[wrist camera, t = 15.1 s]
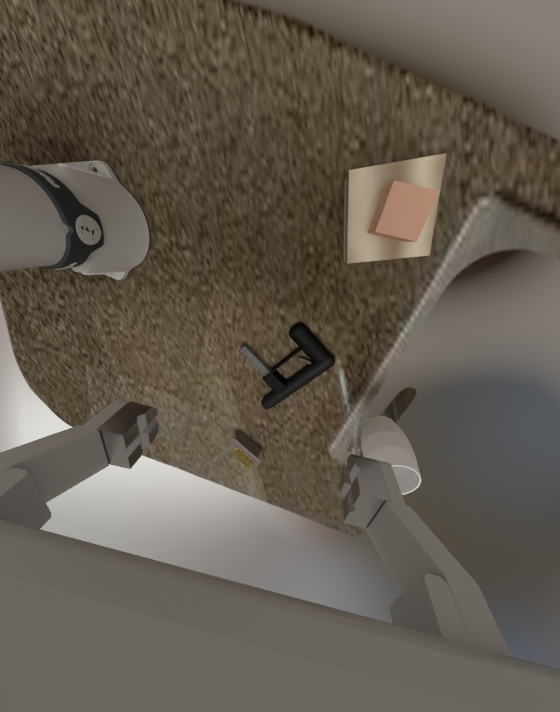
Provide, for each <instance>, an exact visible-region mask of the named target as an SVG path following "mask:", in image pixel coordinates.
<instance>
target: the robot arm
mask: <svg viewBox="0 0 560 712" xmlns="http://www.w3.org/2000/svg"><path fill="white" fill-rule="evenodd" d="M96 169H97V172H96ZM148 248H149V229H148V225H147V221H146V218H145V216H144V213H143V211H142V209H141V207H140V206H139V204H138V203H137V201H136V200H135V198H134V197H133V196H132V195H131V194H130V193H129V192H128V191H127V190H126V189H125V188H124V187H123V186H122V185H121V184H120V183H119V181H118V180H117V178H116V176H115V174H114V172H113V171H112V169H111V168H110V166H109V165H108V164H107V163H106V162H103V161H98V160H96V161H83V162H70V163H58V164H45V165H33V166H26V165H21V164H15V163H14V164H13V163H5V162H2V163H0V272H4V271H10V270H17V269H25V268H34V267H39V268H42V269H67V268H72V270H73V271H75V272H82V274H84V275H96V274H104V275H107V276H109V277H111V278H114V279H116V280H124V279H125V278H126V277H127V275H128V273H129V271H130V270H131V269H132V268H134V267H136V266H137V265H139V264H140V263H141V262H142V261H143V260H144V258H145V257H146V255H147V252H148ZM156 416H157V410H156V408H154V407H150V406H146V405H143V404H139V403H135V402H131V401H127V400H123V399H118V400H115V401H114V402H112V403H111V404H110V405H109V406H107V407H106V408H105V409H103V410H102V411H101V412H100V413H98V414H97V415H96V416H95V417H93V418H92V419H91V420H89V421H88V422H87V423H86V424H84V425H83V426H75V427H73V428H70V429H67V430H64V431H61V432H59V433H56V434H53V435H50V436H47V437H44V438H41V439H38V440H36V441H33V442H30V443H27V444H24V445H21V446H19V447H16V448H13V449H10V450H7V451H4V452H1V453H0V712H560V669H558V668H554V667H550V666H547V665H543V664H539V663H535V662H532V661H528V660H524V659H520V658H517V657H513V656H511V654H510V652H509V650H508V648H507V646H506V643H505V641H504V639H503V637H502V635H501V633H500V631H499V628H498V626H497V624H496V622H495V620H494V618H493V616H492V614H491V612H490V610H489V607H488V605H487V603H486V601H485V599H484V597H483V595H482V593H481V591H480V588H479V586H478V585H477V583H476V582H475V581H474V580H473V579H472V578H471V577H470V575H469V574H468V573H467V572H466V571H465V570H464V569H463V568H462V566H461V565H460V564H459V563H458V562H457V561H456V559H455V558H454V557H453V556H452V555H451V554H450V552H449V551H448V550H447V549H446V548H445V547H444V546H443V544H442V543H441V542H440V541H439V540H438V539H437V537H436V536H435V535H434V534H433V533H432V532H431V531H430V529H429V528H428V527H427V526H426V525H425V524H424V523H423V521H422V520H421V519H420V518H419V517H418V516H417V515H416V513H415V512H414V511H413V510H412V509H411V508H410V507H408V506H406V505H405V502H404V500H403V497H402V494H401V491H400V488H399V485H398V482H397V479H396V477H395V474H394V471H393V468H392V465H391V464H390V463H387V462H383V461H379V460H375V459H371V458H366V457H362V456H357V455H353V454H351V455H350V456H349V457H348V459H347V464H348V465H347V466H345V467H343V470H342V472H341V477H340V492H341V494H342V495H343V496H344V500H343V502H342V512H343V521H344V523H347V524H351V525H354V526H358V527H362V528H365V529H366V531H367V533H368V534H369V536H370V538H371V540H372V541H373V543H374V545H375V547H376V549H377V550H378V552H379V554H380V556H381V558H382V559H383V561H384V563H385V565H386V566H387V568H388V570H389V572H390V573H391V575H392V577H393V579H394V581H395V582H396V584H397V586H398V588H399V589H400V591H401V593H402V595H401V596H400V597H399V598H398V599H396V600H395V601H394V602H393V603H392V604H391V606H390V613H391V618H392V623H393V624H391V623H387V622H383V621H379V620H376V619H372V618H368V617H364V616H361V615H357V614H353V613H350V612H346V611H342V610H338V609H335V608H331V607H327V606H323V605H320V604H316V603H312V602H308V601H305V600H301V599H297V598H294V597H290V596H286V595H283V594H279V593H275V592H271V591H267V590H264V589H260V588H257V587H253V586H249V585H245V584H242V583H237V582H234V581H230V580H227V579H223V578H219V577H215V576H212V575H208V574H204V573H201V572H197V571H193V570H190V569H185V568H182V567H178V566H175V565H171V564H167V563H163V562H159V561H156V560H152V559H148V558H145V557H141V556H137V555H133V554H130V553H126V552H122V551H119V550H115V549H111V548H107V547H103V546H100V545H96V544H93V543H89V542H85V541H81V540H78V539H74V538H70V537H66V536H63V535H59V534H55V533H52V532H48V531H44V530H40V528H41V527H42V526H43V525H44V524H45V523H46V522H47V521H48V520H49V519H50V518H51V512H50V510H49V508H48V506H47V505H46V502H48V501H49V500H51V499H53V498H55V497H56V496H58V495H60V494H61V493H63V492H65V491H66V490H68V489H70V488H72V487H73V486H75V485H77V484H78V483H80V482H82V481H83V480H85V479H87V478H88V477H90V476H92V475H94V474H95V473H97V472H99V471H100V470H102V469H104V468H105V467H107V466H109V464H111V465H116V466H120V467H125V468H129V469H130V468H131V467H132V466H133V465H134V464H135V463H136V461H137V460H138V459H139V458H140V457H141V455H142V449H143V448H145V447H147V446H149V445H150V444H151V443H152V442H153V440H154V439H155V437H156V435H157V433H158V428H159V426H158V422H157V420H156V419H155V417H156Z"/></svg>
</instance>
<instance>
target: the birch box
mask: <svg viewBox="0 0 560 712" xmlns="http://www.w3.org/2000/svg"><path fill="white" fill-rule="evenodd" d="M446 154H447V153H445V154H440V155H434V156H428V157H422V158H416V159H411V160H405V161H399V162H393V163H388V164H382V165H376V166H370V167H364V168H359V169H353V170H349V172H348V174H347V176H346V179H345V184H344V252H343V261H344V262H346V263H347V264H348V263H358V262H368V261H378V260H388V259H398V258H408V257H418V256H428V255H430V249H431V243H432V237H433V231H434V225H435V219H436V213H437V207H438V201H439V195H440V189H441V183H442V177H443V172H444V166H445V160H446ZM394 180H395V181H399V182H404V183H408V184H413V185H417V186H421V187H426V188H430V189H434V190H439V194H438V196H437V198H436V200H435V202H434V205H433V207H432V209H431V211H430V214H429V216H428V218H427V220H426V222H425V225H424V227H423V229H422V231H421V233H420V236H419V238H418V240H417V242H402V241H398V240H393V239H389V238H385V237H381V236H377V235H373V234H368V233H367V232H368V229H369V227H370V224H371V221H372V218H373V215H374V212H375V210H376V207H377V204H378V201H379V198H380V195H381V192H382V190H383V189H384V188H385V187H386V186H388V185H389V184H390V183H391V182H392V181H394Z"/></svg>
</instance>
